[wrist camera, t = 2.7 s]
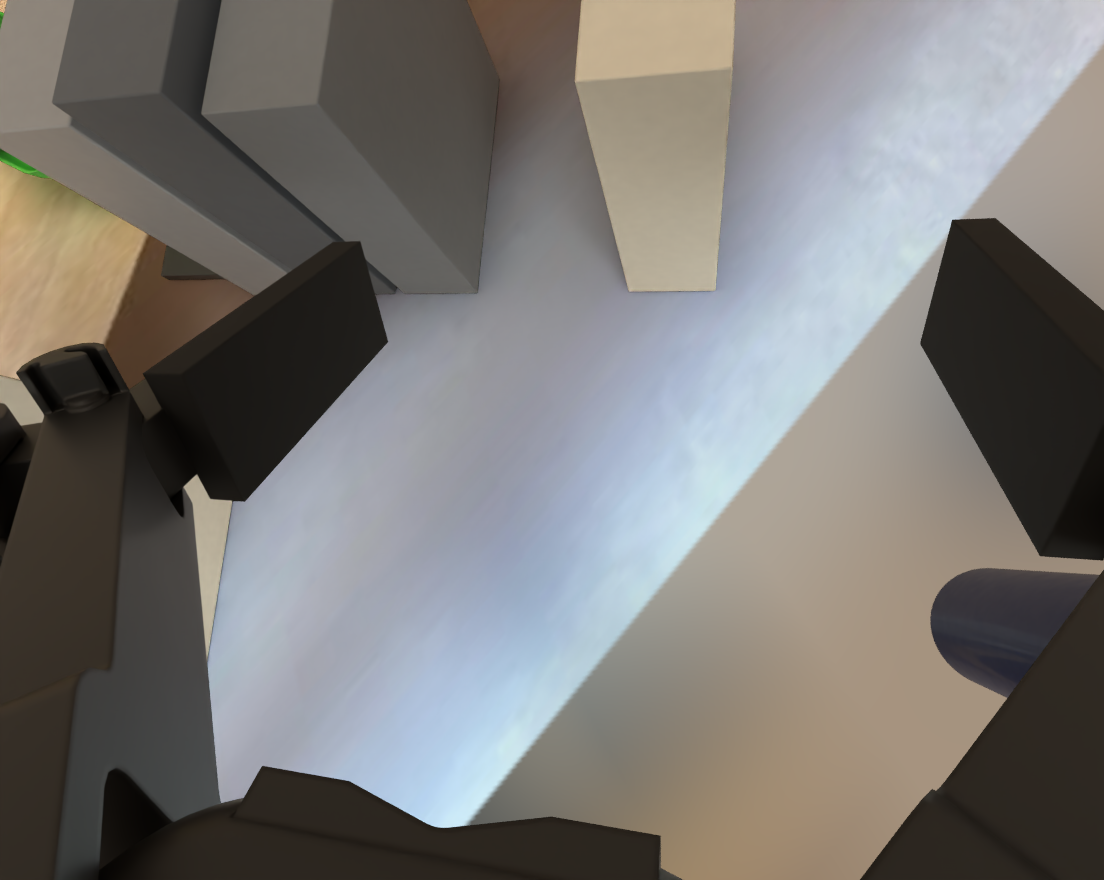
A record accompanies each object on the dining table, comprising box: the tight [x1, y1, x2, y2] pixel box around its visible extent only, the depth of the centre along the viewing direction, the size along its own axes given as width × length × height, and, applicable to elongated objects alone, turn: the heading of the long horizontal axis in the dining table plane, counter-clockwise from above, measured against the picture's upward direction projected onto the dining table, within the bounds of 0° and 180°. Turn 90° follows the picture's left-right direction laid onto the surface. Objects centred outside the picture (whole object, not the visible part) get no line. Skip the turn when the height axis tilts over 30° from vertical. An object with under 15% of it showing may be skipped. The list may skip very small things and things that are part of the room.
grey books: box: [0, 0, 499, 295], centre depth 28 cm, size 19×12×15 cm, turn 85°
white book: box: [575, 0, 736, 292], centre depth 24 cm, size 4×12×14 cm, turn 175°
